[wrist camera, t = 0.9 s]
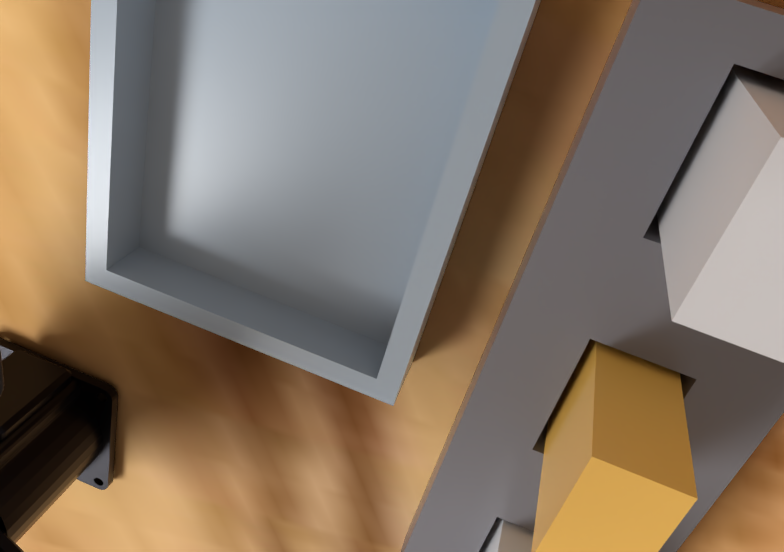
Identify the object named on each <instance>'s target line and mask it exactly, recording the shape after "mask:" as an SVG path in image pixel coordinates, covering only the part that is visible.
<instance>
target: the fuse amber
mask: <svg viewBox="0 0 784 552" xmlns="http://www.w3.org/2000/svg"><path fill="white" fill-rule="evenodd" d="M697 499H698V497H697V490H696V483H695V476H694V469H693V462H692V455H691V448H690V441H689V434H688V427H687V420H686V413H685V406H684V399H683V392H682V385H681V378H680V373H679V372H676V371H673V370H671V369H668V368H665V367H663V366H660V365H658V364H655V363H652V362H650V361H647V360H644V359H642V358H639V357H637V356H634V355H631V354H629V353H626V352H623V351H621V350H618V349H616V348H613V347H610V346H608V345H605V344H602V343H600V342H597V341H595V340H592V339H590V340H589V342H588V344H587V346H586V348H585V350H584V352H583V354H582V355H581V357H580V359H579V361H578V363H577V365H576V367H575V369H574V371H573V373H572V375H571V377H570V378H569V380H568V382H567V384H566V386H565V388H564V390H563V392H562V394H561V396H560V398H559V399H558V401H557V403H556V405H555V407H554V409H553V411H552V413H551V415H550V417H549V419H548V425H547V433H546V440H545V448H544V456H543V464H542V472H541V479H540V487H539V495H538V503H537V511H536V518H535V526H534V534H533V542H532V550H531V552H658V551H659V550H660V549H661V547H662V546H663V545H664V543H665V542H666V541H667V539H668V538H669V537H670V535H671V534H672V533H673V531H674V530H675V529H676V527H677V526H678V525H679V523H680V522H681V521H682V519H683V518H684V517H685V515H686V514H687V513H688V511H689V510H690V509H691V507H692V506H693V505H694V503H695V502H696V501H697Z"/></svg>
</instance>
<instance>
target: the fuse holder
mask: <svg viewBox="0 0 784 552" xmlns="http://www.w3.org/2000/svg"><path fill="white" fill-rule="evenodd" d="M734 64H737V65H740V66H743V67H746V68H749V69H752V70H755V71H758V72H761V73H764V74H768V75H771V76H774V77H777V78H780V79H783V80H784V9H783V8H779V7H776V6H773V5H770V4H767V3H763V2H760V1H757V0H632V3H631V5H630V8H629V10H628V12H627V15H626V17H625V19H624V22H623V24H622V26H621V29H620V31H619V34H618V36H617V38H616V41H615V43H614V45H613V48H612V50H611V52H610V55H609V57H608V60H607V62H606V64H605V67H604V69H603V71H602V74H601V76H600V78H599V81H598V83H597V86H596V88H595V90H594V93H593V95H592V97H591V100H590V102H589V104H588V107H587V109H586V112H585V114H584V116H583V119H582V121H581V123H580V126H579V128H578V130H577V133H576V135H575V138H574V140H573V142H572V145H571V147H570V149H569V152H568V154H567V156H566V159H565V161H564V164H563V166H562V168H561V171H560V173H559V175H558V178H557V180H556V182H555V185H554V187H553V190H552V192H551V194H550V197H549V199H548V201H547V204H546V206H545V208H544V211H543V213H542V216H541V218H540V220H539V223H538V225H537V227H536V230H535V232H534V234H533V237H532V239H531V242H530V244H529V246H528V249H527V251H526V253H525V256H524V258H523V260H522V263H521V265H520V268H519V270H518V272H517V275H516V277H515V279H514V282H513V284H512V286H511V289H510V291H509V294H508V296H507V298H506V301H505V303H504V305H503V308H502V310H501V312H500V315H499V317H498V320H497V322H496V324H495V327H494V329H493V331H492V334H491V336H490V338H489V341H488V343H487V345H486V348H485V350H484V353H483V355H482V357H481V360H480V362H479V364H478V367H477V369H476V371H475V374H474V376H473V379H472V381H471V383H470V386H469V388H468V390H467V393H466V395H465V397H464V400H463V402H462V405H461V407H460V409H459V412H458V414H457V416H456V419H455V421H454V423H453V426H452V428H451V431H450V433H449V435H448V438H447V440H446V442H445V445H444V447H443V449H442V452H441V454H440V457H439V459H438V461H437V464H436V466H435V468H434V471H433V473H432V475H431V478H430V480H429V483H428V485H427V487H426V490H425V492H424V494H423V497H422V499H421V501H420V504H419V506H418V509H417V511H416V513H415V516H414V518H413V520H412V523H411V525H410V527H409V530H408V532H407V535H406V537H405V540H404V543H403V546H402V549H401V552H479V550H480V549H481V547H482V545H483V543H484V541H485V539H486V537H487V535H488V533H489V531H490V529H491V528H492V526H493V524H494V522H495V520H496V518H497V517H499V518H501V519H503V520H506V521H508V522H510V523H513V524H515V525H518V526H520V527H522V528H525V529H527V530H530V531H532V532H534V526H535V518H536V511H537V503H538V495H539V487H540V479H541V472H542V464H543V456H544V448H545V440H546V433H547V425H548V419H549V417H550V415H551V413H552V411H553V409H554V407H555V405H556V403H557V401H558V399H559V398H560V396H561V394H562V392H563V390H564V388H565V386H566V384H567V382H568V380H569V378H570V377H571V375H572V373H573V371H574V369H575V367H576V365H577V363H578V361H579V359H580V357H581V355H582V354H583V352H584V350H585V348H586V346H587V344H588V342H589V340H590V339H592V340H595V341H597V342H600V343H602V344H605V345H608V346H610V347H613V348H616V349H618V350H621V351H623V352H626V353H629V354H631V355H634V356H637V357H639V358H642V359H644V360H647V361H650V362H652V363H655V364H658V365H660V366H663V367H665V368H668V369H671V370H673V371H676V372H679V373H680V378H681V385H682V392H683V399H684V406H685V413H686V420H687V427H688V434H689V441H690V448H691V455H692V462H693V469H694V476H695V483H696V490H697V497H698V499H697V501H696V502H695V503H694V505H693V506H692V507H691V509H690V510H689V511H688V513H687V514H686V515H685V517H684V518H683V519H682V521H681V522H680V523H679V525H678V526H677V527H676V529H675V530H674V531H673V533H672V534H671V535H670V537H669V538H668V539H667V541H666V542H665V543H664V545H663V546H662V547H661V549H660V550H659V551H658V552H677V550H678V549H679V548H680V546H681V545H682V544H683V542H684V541H685V540H686V539H687V537H688V536H689V535H690V533H691V532H692V531H693V529H694V528H695V527H696V526H697V524H698V523H699V522H700V520H701V519H702V518H703V517H704V515H705V514H706V513H707V511H708V510H709V509H710V507H711V506H712V505H713V504H714V502H715V501H716V500H717V498H718V497H719V496H720V494H721V493H722V492H723V491H724V489H725V488H726V487H727V485H728V484H729V483H730V482H731V480H732V479H733V478H734V476H735V475H736V474H737V472H738V471H739V470H740V469H741V467H742V466H743V465H744V463H745V462H746V461H747V459H748V458H749V457H750V456H751V454H752V453H753V452H754V450H755V449H756V448H757V447H758V445H759V444H760V443H761V441H762V440H763V439H764V437H765V436H766V435H767V434H768V432H769V431H770V430H771V428H772V427H773V426H774V424H775V423H776V422H777V421H778V419H779V418H780V417H781V415H782V414H783V413H784V363H783V362H780V361H777V360H775V359H772V358H769V357H767V356H764V355H761V354H759V353H756V352H753V351H751V350H748V349H745V348H743V347H740V346H737V345H735V344H732V343H729V342H727V341H724V340H721V339H718V338H716V337H713V336H710V335H708V334H705V333H702V332H700V331H697V330H694V329H692V328H689V327H686V326H684V325H681V324H678V323H676V322H673V321H672V320H671V312H670V305H669V298H668V291H667V283H666V276H665V269H664V261H663V254H662V247H661V240H660V232H659V225H658V218H657V210H658V208H659V206H660V204H661V203H662V201H663V199H664V197H665V195H666V193H667V191H668V189H669V187H670V185H671V183H672V182H673V180H674V178H675V176H676V174H677V172H678V170H679V168H680V166H681V164H682V162H683V161H684V159H685V157H686V155H687V153H688V151H689V149H690V147H691V145H692V143H693V141H694V139H695V138H696V136H697V134H698V132H699V130H700V128H701V126H702V124H703V122H704V120H705V118H706V117H707V115H708V113H709V111H710V109H711V107H712V105H713V103H714V101H715V99H716V97H717V96H718V94H719V92H720V90H721V88H722V86H723V84H724V82H725V80H726V78H727V76H728V74H729V73H730V71H731V69H732V67H733V65H734Z"/></svg>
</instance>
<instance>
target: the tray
mask: <svg viewBox="0 0 784 552" xmlns="http://www.w3.org/2000/svg"><path fill="white" fill-rule="evenodd" d="M540 2H541V0H91V38H90V84H89V131H88V177H87V224H86V271H85V281H87V282H89V283H92V284H94V285H97V286H99V287H102V288H104V289H107V290H109V291H111V292H114V293H116V294H119V295H121V296H124V297H126V298H129V299H131V300H134V301H136V302H139V303H141V304H143V305H146V306H148V307H151V308H153V309H156V310H158V311H161V312H163V313H166V314H168V315H171V316H173V317H175V318H178V319H180V320H183V321H185V322H188V323H190V324H193V325H195V326H198V327H200V328H203V329H205V330H208V331H210V332H212V333H215V334H217V335H220V336H222V337H225V338H227V339H230V340H232V341H235V342H237V343H240V344H242V345H244V346H247V347H249V348H252V349H254V350H257V351H259V352H262V353H264V354H267V355H269V356H272V357H274V358H276V359H279V360H281V361H284V362H286V363H289V364H291V365H294V366H296V367H299V368H301V369H304V370H306V371H309V372H311V373H313V374H316V375H318V376H321V377H323V378H326V379H328V380H331V381H333V382H336V383H338V384H341V385H343V386H345V387H348V388H350V389H353V390H355V391H358V392H360V393H363V394H365V395H368V396H370V397H373V398H375V399H377V400H380V401H382V402H385V403H387V404H390V405H392V406H393V405H394V403H395V401H396V399H397V396H398V394H399V392H400V390H401V387H402V385H403V383H404V381H405V378H406V376H407V374H408V372H409V369H410V367H411V365H412V362H413V360H414V357H415V354H416V351H417V348H418V345H419V343H420V340H421V337H422V334H423V331H424V329H425V326H426V323H427V320H428V317H429V315H430V312H431V309H432V306H433V303H434V300H435V298H436V295H437V292H438V289H439V286H440V284H441V281H442V278H443V275H444V272H445V270H446V267H447V264H448V261H449V258H450V255H451V253H452V250H453V247H454V244H455V241H456V239H457V236H458V233H459V230H460V227H461V224H462V222H463V219H464V216H465V213H466V210H467V208H468V205H469V202H470V199H471V196H472V194H473V191H474V188H475V185H476V182H477V179H478V177H479V174H480V171H481V168H482V165H483V163H484V160H485V157H486V154H487V151H488V148H489V146H490V143H491V140H492V137H493V134H494V132H495V129H496V126H497V123H498V120H499V118H500V115H501V112H502V109H503V106H504V103H505V101H506V98H507V95H508V92H509V89H510V87H511V84H512V81H513V78H514V75H515V72H516V70H517V67H518V64H519V61H520V58H521V56H522V53H523V50H524V47H525V44H526V42H527V39H528V36H529V33H530V30H531V27H532V25H533V22H534V19H535V16H536V13H537V11H538V8H539V5H540Z"/></svg>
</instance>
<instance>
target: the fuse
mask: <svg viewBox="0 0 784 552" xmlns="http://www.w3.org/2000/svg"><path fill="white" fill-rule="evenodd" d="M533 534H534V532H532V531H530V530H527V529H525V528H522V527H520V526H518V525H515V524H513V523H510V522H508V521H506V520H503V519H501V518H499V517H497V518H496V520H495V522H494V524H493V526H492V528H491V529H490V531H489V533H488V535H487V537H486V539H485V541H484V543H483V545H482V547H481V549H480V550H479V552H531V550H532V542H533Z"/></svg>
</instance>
